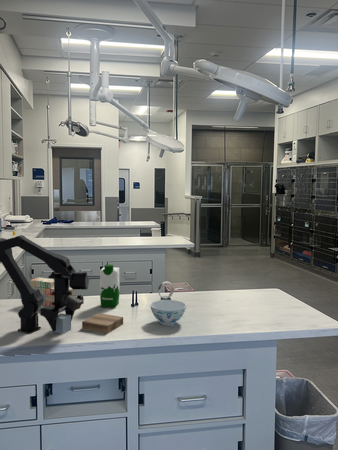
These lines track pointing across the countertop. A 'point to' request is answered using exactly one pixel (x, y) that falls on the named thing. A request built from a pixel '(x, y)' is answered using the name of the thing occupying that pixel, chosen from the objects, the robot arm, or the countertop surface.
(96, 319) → the walnut base
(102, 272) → the milk carton
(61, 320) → the grey block
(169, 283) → the watch
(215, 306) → the countertop surface
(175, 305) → the chinaware
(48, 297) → the stack of blocks
